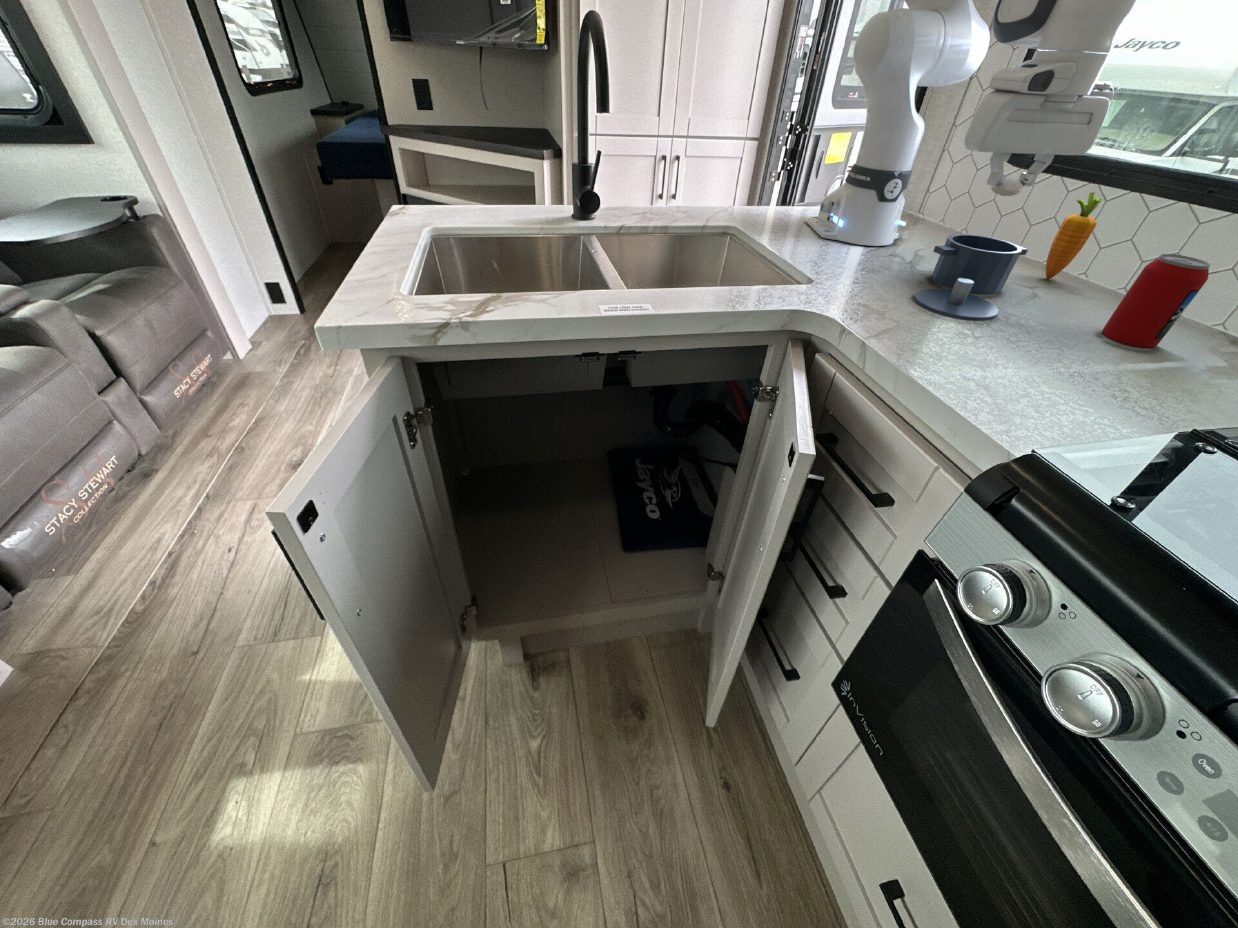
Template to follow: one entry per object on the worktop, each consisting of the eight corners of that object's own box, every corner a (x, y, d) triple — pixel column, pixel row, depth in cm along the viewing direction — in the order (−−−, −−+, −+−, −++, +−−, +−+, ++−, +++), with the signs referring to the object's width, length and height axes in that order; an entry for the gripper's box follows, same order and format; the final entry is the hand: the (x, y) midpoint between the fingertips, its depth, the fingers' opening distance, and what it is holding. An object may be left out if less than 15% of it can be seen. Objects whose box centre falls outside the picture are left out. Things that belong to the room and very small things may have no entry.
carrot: (1058, 285, 97) (1110, 197, 87) (1029, 277, 100) (1076, 192, 90) (1066, 280, 99) (1116, 194, 90) (1037, 273, 102) (1083, 189, 93)
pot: (904, 276, 97) (921, 234, 92) (981, 275, 99) (1001, 234, 95) (944, 298, 88) (964, 253, 83) (1027, 296, 91) (1051, 253, 86)
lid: (897, 295, 88) (907, 268, 85) (959, 294, 90) (972, 267, 87) (944, 325, 79) (957, 295, 76) (1013, 323, 81) (1029, 294, 78)
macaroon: (1018, 196, 84) (1027, 179, 82) (1015, 201, 81) (1024, 183, 79) (989, 192, 86) (997, 175, 84) (985, 196, 83) (993, 179, 81)
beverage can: (1164, 354, 74) (1231, 270, 66) (1113, 348, 75) (1172, 264, 67) (1137, 335, 79) (1196, 255, 72) (1089, 330, 80) (1142, 250, 72)
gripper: (1100, 80, 78) (1047, 182, 86) (983, 73, 74) (940, 180, 83) (1139, 83, 73) (1079, 191, 82) (1016, 76, 70) (967, 189, 78)
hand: (1008, 185), depth 82 cm, fingers closed on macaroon, 4 cm apart
